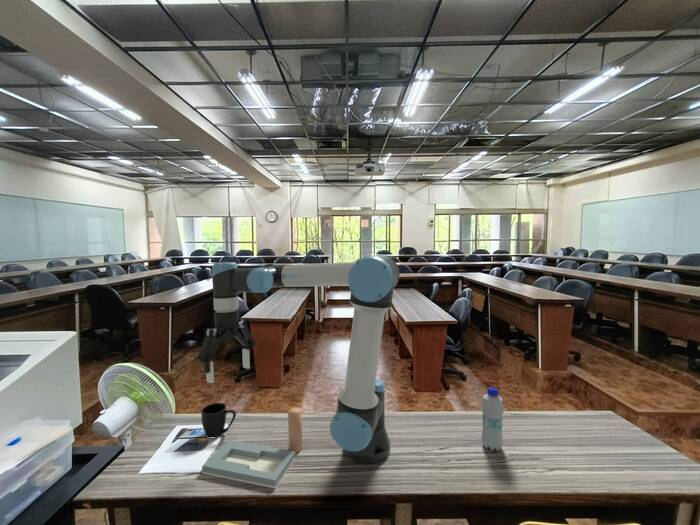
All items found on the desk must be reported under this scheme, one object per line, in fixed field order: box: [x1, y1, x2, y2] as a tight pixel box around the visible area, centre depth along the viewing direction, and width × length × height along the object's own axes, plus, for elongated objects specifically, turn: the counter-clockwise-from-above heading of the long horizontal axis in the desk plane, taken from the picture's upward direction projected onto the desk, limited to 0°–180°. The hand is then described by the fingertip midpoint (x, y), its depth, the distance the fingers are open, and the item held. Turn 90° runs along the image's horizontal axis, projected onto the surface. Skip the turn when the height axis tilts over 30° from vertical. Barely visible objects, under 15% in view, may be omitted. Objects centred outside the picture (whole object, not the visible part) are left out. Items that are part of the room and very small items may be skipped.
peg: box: [287, 406, 303, 454], centre depth 106 cm, size 4×4×13 cm
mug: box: [201, 402, 237, 438], centre depth 115 cm, size 8×12×10 cm
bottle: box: [481, 386, 505, 452], centre depth 106 cm, size 7×7×20 cm
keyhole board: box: [201, 440, 296, 489], centre depth 98 cm, size 24×13×2 cm, turn 75°
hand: (229, 374), depth 105 cm, fingers open, 13 cm apart
